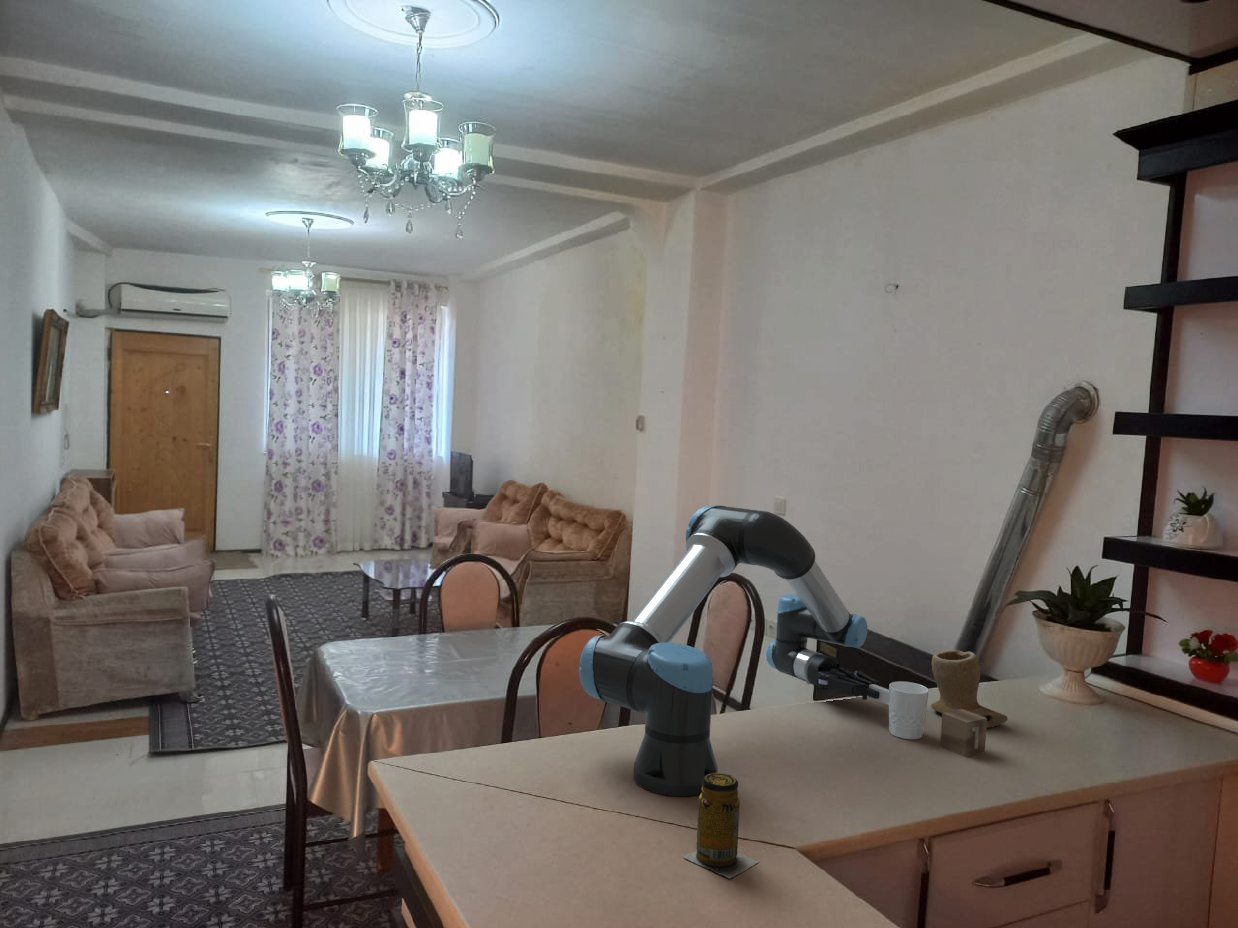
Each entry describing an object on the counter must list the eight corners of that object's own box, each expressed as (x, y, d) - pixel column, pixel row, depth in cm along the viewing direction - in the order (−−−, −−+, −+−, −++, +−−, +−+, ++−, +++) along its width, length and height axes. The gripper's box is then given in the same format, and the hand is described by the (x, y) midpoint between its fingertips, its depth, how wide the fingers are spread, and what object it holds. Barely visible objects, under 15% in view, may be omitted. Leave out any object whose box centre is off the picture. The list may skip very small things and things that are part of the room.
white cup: (885, 737, 185) (888, 690, 184) (886, 724, 192) (889, 679, 192) (925, 743, 182) (929, 695, 182) (925, 730, 190) (928, 684, 189)
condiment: (712, 842, 137) (716, 765, 136) (758, 862, 131) (762, 783, 130) (682, 858, 131) (686, 778, 130) (729, 880, 125) (733, 797, 125)
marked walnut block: (965, 757, 176) (967, 722, 175) (940, 746, 181) (942, 712, 181) (985, 752, 179) (988, 718, 178) (960, 742, 184) (962, 708, 184)
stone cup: (916, 711, 203) (920, 646, 202) (955, 705, 208) (959, 642, 207) (968, 734, 189) (972, 664, 188) (1008, 727, 194) (1013, 659, 193)
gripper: (837, 681, 214) (913, 712, 194) (795, 688, 208) (870, 720, 187) (838, 651, 214) (916, 678, 193) (797, 656, 207) (872, 685, 187)
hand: (893, 699), depth 190 cm, fingers closed
